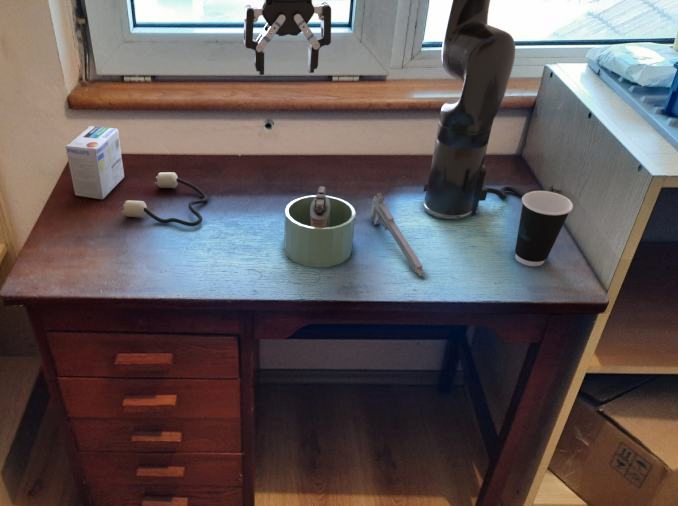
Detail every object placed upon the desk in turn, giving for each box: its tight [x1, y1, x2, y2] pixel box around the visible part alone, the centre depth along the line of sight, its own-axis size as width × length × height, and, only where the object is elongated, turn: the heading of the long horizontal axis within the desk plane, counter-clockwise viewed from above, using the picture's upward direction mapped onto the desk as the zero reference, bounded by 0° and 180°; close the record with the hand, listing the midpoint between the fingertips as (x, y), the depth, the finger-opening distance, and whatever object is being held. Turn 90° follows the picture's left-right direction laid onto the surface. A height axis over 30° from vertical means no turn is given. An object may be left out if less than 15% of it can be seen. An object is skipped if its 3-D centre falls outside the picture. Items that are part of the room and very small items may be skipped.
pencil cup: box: [283, 194, 357, 268], centre depth 115 cm, size 12×12×8 cm
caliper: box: [369, 192, 426, 277], centre depth 116 cm, size 20×1×6 cm, turn 16°
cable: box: [121, 171, 209, 227], centre depth 129 cm, size 16×16×4 cm
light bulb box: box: [65, 125, 125, 200], centre depth 133 cm, size 11×7×11 cm, turn 164°
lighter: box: [310, 186, 330, 228], centre depth 114 cm, size 8×3×10 cm, turn 171°
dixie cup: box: [514, 190, 574, 267], centre depth 111 cm, size 8×8×11 cm
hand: (286, 72), depth 112 cm, fingers open, 8 cm apart
